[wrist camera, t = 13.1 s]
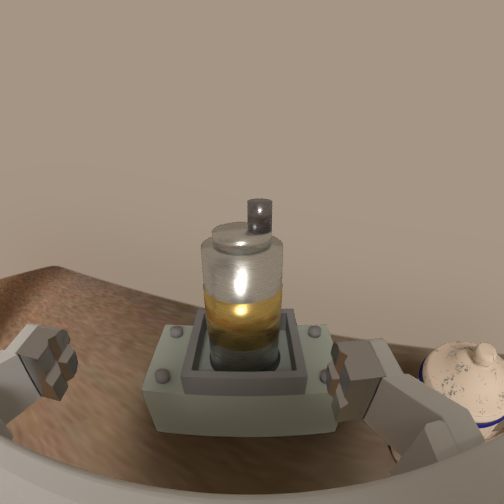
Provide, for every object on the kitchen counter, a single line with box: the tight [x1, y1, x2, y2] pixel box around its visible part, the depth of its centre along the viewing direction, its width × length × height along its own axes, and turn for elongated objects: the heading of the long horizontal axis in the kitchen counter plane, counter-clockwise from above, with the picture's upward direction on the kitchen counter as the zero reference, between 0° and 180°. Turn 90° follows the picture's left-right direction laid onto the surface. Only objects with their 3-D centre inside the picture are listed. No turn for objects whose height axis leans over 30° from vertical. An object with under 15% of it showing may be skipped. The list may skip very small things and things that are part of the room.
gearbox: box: [141, 309, 338, 437], centre depth 25 cm, size 20×9×8 cm, turn 90°
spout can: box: [201, 199, 283, 372], centre depth 22 cm, size 6×6×13 cm
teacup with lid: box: [391, 342, 504, 462], centre depth 16 cm, size 12×9×12 cm
